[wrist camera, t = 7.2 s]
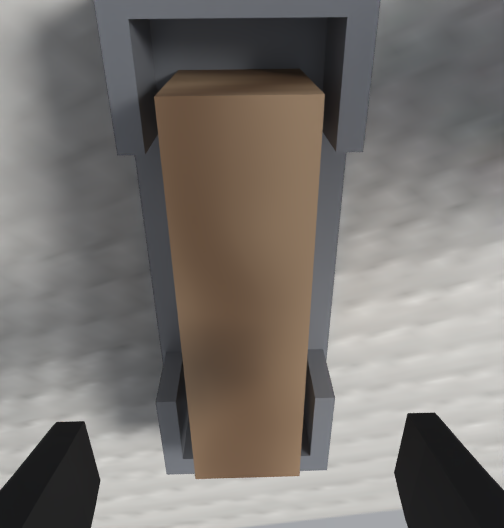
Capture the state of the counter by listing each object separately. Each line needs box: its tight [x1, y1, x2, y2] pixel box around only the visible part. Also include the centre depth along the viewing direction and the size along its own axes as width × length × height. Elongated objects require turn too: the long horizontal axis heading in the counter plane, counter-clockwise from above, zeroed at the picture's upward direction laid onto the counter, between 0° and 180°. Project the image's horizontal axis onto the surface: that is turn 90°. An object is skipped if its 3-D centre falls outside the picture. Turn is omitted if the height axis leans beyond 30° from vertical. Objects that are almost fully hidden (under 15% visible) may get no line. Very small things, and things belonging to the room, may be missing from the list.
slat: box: [154, 69, 325, 479], centre depth 16 cm, size 4×14×5 cm, turn 1°
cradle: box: [94, 0, 380, 474], centre depth 17 cm, size 8×19×4 cm, turn 0°
